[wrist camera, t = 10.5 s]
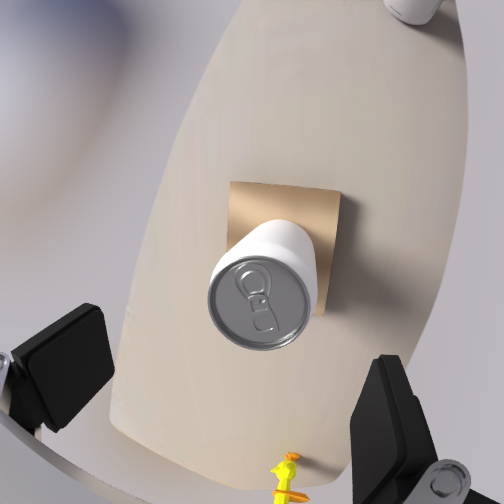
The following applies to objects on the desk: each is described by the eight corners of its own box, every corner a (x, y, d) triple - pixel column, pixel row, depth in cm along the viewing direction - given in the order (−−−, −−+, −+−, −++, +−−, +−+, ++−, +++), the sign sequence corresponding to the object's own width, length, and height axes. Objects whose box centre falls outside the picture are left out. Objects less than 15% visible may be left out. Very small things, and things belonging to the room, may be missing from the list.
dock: (238, 181, 29) (230, 181, 26) (337, 190, 27) (340, 191, 24) (231, 292, 32) (224, 303, 29) (322, 304, 30) (323, 316, 27)
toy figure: (316, 455, 36) (312, 515, 25) (307, 465, 37) (301, 522, 26) (277, 445, 37) (265, 507, 25) (269, 456, 38) (256, 514, 26)
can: (306, 211, 25) (305, 235, 14) (320, 279, 26) (327, 348, 15) (237, 227, 27) (185, 261, 15) (254, 291, 28) (219, 361, 16)
